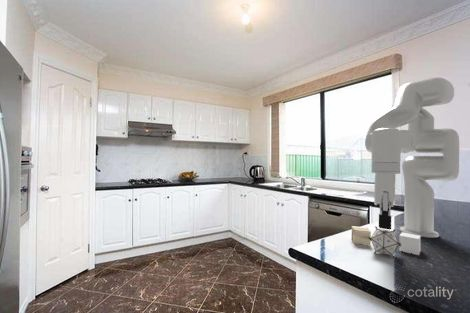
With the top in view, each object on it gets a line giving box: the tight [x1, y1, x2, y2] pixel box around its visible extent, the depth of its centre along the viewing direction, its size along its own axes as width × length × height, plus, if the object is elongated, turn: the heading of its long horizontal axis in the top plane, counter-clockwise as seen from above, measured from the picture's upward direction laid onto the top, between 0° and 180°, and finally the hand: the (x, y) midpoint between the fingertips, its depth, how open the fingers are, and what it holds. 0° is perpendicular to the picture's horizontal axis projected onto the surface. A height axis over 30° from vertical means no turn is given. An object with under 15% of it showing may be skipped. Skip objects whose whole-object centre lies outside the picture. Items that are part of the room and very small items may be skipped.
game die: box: [368, 226, 401, 259], centre depth 71 cm, size 9×8×10 cm
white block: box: [398, 231, 422, 256], centre depth 75 cm, size 5×5×5 cm
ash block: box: [351, 225, 372, 246], centre depth 82 cm, size 5×5×5 cm
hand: (384, 228), depth 72 cm, fingers closed
